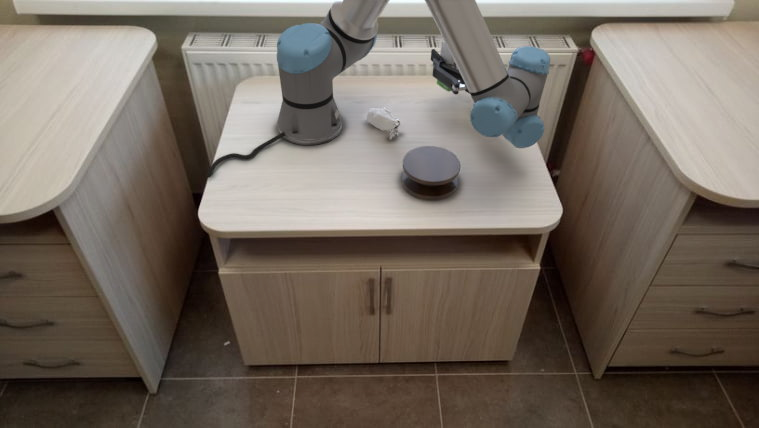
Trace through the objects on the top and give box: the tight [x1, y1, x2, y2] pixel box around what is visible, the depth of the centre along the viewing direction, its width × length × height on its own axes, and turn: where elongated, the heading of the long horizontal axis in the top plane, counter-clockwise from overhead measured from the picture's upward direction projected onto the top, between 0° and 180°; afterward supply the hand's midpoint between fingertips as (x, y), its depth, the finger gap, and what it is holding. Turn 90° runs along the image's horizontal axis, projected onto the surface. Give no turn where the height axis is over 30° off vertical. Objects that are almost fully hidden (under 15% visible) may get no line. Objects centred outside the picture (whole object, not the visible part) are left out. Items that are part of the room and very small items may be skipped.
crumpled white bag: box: [365, 107, 402, 141], centre depth 129 cm, size 5×7×10 cm
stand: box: [401, 145, 461, 202], centre depth 115 cm, size 12×12×5 cm
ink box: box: [436, 39, 458, 93], centre depth 133 cm, size 9×5×12 cm, turn 123°
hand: (450, 51), depth 135 cm, fingers closed on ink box, 9 cm apart
